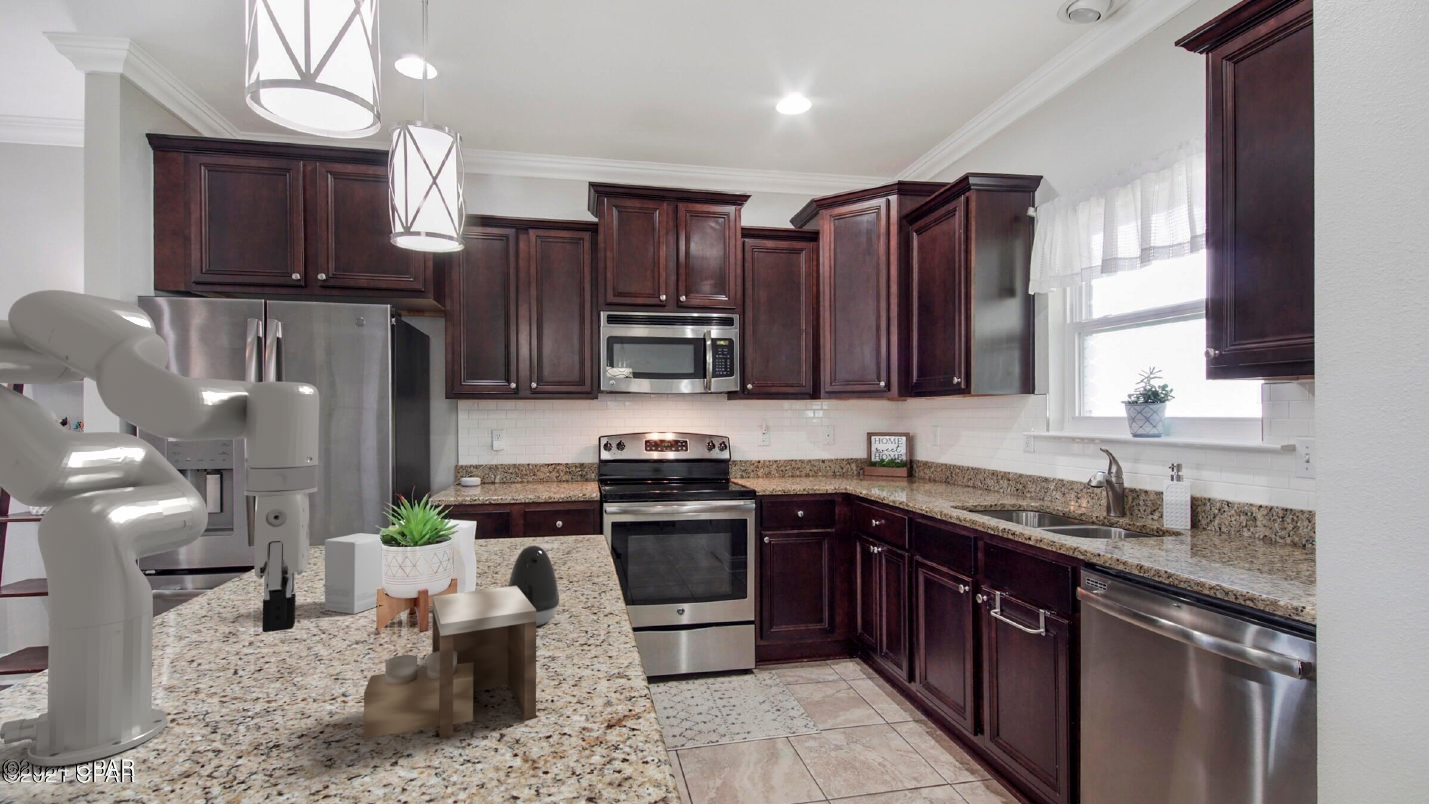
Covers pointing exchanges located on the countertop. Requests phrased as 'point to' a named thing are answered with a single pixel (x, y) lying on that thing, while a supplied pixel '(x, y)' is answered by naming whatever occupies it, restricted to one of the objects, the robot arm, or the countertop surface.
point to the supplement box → (352, 572)
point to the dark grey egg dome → (536, 582)
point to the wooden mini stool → (486, 645)
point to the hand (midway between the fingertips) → (278, 628)
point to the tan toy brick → (414, 696)
